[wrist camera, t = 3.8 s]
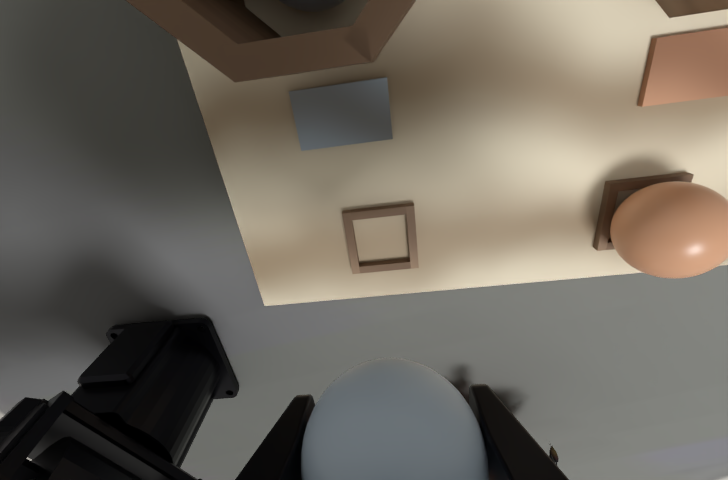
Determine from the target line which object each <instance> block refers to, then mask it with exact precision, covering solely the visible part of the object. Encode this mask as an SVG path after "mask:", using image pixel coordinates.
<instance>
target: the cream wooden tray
mask: <svg viewBox="0 0 728 480" xmlns="http://www.w3.org/2000/svg"><path fill="white" fill-rule="evenodd" d="M126 1H127V2H128V3H130V4H131V5H132V6H134V7H135V8H136V9H138V10H139V11H140V12H142V13H143V14H144V15H146V16H147V17H148V18H150V19H151V20H152V21H154V22H155V23H156V24H158V25H159V26H160V27H162V28H163V29H164V30H166V31H167V32H168V33H170V34H171V35H172V36H174V37H175V38H176V39H177V41H178V44H179V47H180V50H181V53H182V56H183V59H184V62H185V65H186V68H187V71H188V74H189V77H190V80H191V83H192V86H193V89H194V92H195V96H196V99H197V102H198V105H199V108H200V111H201V114H202V117H203V120H204V123H205V126H206V129H207V132H208V135H209V138H210V141H211V144H212V147H213V150H214V153H215V156H216V159H217V162H218V165H219V168H220V172H221V175H222V178H223V181H224V184H225V187H226V190H227V193H228V196H229V199H230V202H231V205H232V208H233V211H234V214H235V217H236V220H237V223H238V226H239V229H240V232H241V235H242V238H243V241H244V244H245V248H246V251H247V254H248V257H249V260H250V263H251V266H252V269H253V272H254V275H255V278H256V281H257V284H258V287H259V290H260V293H261V296H262V299H263V302H264V305H265V306H270V305H282V304H293V303H304V302H315V301H327V300H338V299H349V298H360V297H372V296H383V295H394V294H406V293H417V292H428V291H439V290H451V289H462V288H473V287H484V286H496V285H507V284H518V283H529V282H541V281H552V280H563V279H575V278H586V277H597V276H608V275H620V274H631V273H642V272H641V271H639V270H637V269H635V268H633V267H632V266H630V265H629V264H628V263H626V262H625V261H624V260H623V259H622V258H621V257H620V256H619V254H618V253H617V251H616V250H615V248H614V246H613V243H612V241H611V235H610V226H611V221H612V218H613V215H614V213H615V212H616V210H617V208H618V207H619V206H620V204H621V203H622V202H623V201H624V200H625V199H626V198H628V197H629V196H630V195H632V194H633V193H635V192H636V191H638V190H640V189H642V188H645V187H647V186H650V185H653V184H657V183H663V182H673V181H681V182H691V183H695V184H699V185H703V186H705V187H708V188H710V189H712V190H714V191H716V192H718V193H719V194H721V195H722V196H723V197H724V198H726V199H727V200H728V0H345V1H344V2H342V3H341V4H339V5H337V6H336V7H333V8H331V9H328V10H324V11H319V12H307V11H302V10H297V9H294V8H292V7H289V6H287V5H285V4H284V3H282V2H280V1H279V0H126ZM721 265H728V258H727V259H726V260H725V261H724V262H723V263H721V264H720V265H718V266H721Z"/></svg>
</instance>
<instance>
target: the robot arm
mask: <svg viewBox="0 0 728 480" xmlns="http://www.w3.org/2000/svg"><path fill="white" fill-rule="evenodd" d="M201 326H203V327H204V328H203V327H201ZM106 336H107V338H108V339H109V341H110V343H111V344H110V345H109V346H108V347H107V348H106V349H105V350H104V351H103V352H102V353H101V354H100V355H99V356H98V358H97V359H96V360H95V361H94V362H93V363H92V364H91V365H90V366H89V367H88V368H87V369H86V370H85V371H84V372H83V373H82V374H81V376H80V377H79V379H78V381H77V382H78V384H79V385H80V386H79V387H78V388H77V389H76V391H75V392H74V393H73V394H72V395H70V394H68V393H66V392H65V391H62V392H60V393H59V394H58V395H56V396H55V397H53V398H52V399H50V400H49V401H47V400H45V399H34V398H27V397H25V398H24V399H23V400H21V401H20V402H18V403H17V404H16V405H15V406H14V407H13V408H12V409H11V410H10V411H9V412H8V413H7V414H6V415H5V416H4V417H2V418H1V419H0V480H202V479H196V478H195V477H193V476H191V475H190V474H188V473H187V472H185V471H184V470H182V469H180V467H181V465H182V463H183V461H184V459H185V457H186V455H187V453H188V451H189V448H190V446H191V444H192V442H193V440H194V438H195V436H196V434H197V432H198V430H199V428H200V426H201V424H202V422H203V420H204V418H205V416H206V413H207V411H208V409H209V407H210V405H211V403H212V401H213V399H221V398H233V397H236V395H237V393H238V391H239V386H238V384H237V381H236V379H235V377H234V374H233V372H232V370H231V367H230V365H229V363H228V360H227V358H226V356H225V353H224V351H223V349H222V346H221V344H220V342H219V339H218V337H217V335H216V332H215V330H214V328H213V325H212V323H211V322H210V321H209V320H208V319H205V318H195V319H183V320H172V321H158V322H147V323H135V324H126V325H115V326H112V327H111V328H110V329H109V330H108V331H107V332H106ZM469 406H470V408H471V409H472V411H473V413H474V415H475V417H476V419H477V421H478V423H479V426H480V429H481V432H482V435H483V438H484V442H485V446H486V451H487V457H488V471H489V480H569V479H568V478H567V477H566V476H565V475H564V473H563V472H562V471H561V470H560V469H559V468H558V467H557V465H556V464H555V463H554V462H553V461H552V460H551V458H550V457H549V456H548V455H547V454H546V453H545V451H544V450H543V449H542V448H541V447H540V446H539V444H538V443H537V442H536V441H535V440H534V439H533V437H532V436H531V435H530V434H529V433H528V432H527V430H526V429H525V428H524V427H523V426H522V425H521V424H520V422H519V421H518V420H517V419H516V418H515V417H514V415H513V414H512V413H511V412H510V411H509V410H508V408H507V407H506V406H505V405H504V404H503V403H502V401H501V400H500V399H499V398H498V397H497V396H496V394H495V393H494V392H493V391H492V390H491V389H490V388H489V386H487V385H486V384H475V385H471V386H470V388H469ZM314 407H315V403H314V400H313V397H312V396H311V395H297V396H296V397H295V398H294V399H293V400H292V402H291V403H290V404H289V406H288V407H287V409H286V410H285V411H284V413H283V414H282V415H281V417H280V418H279V420H278V421H277V422H276V424H275V425H274V427H273V428H272V429H271V431H270V432H269V434H268V435H267V436H266V438H265V439H264V440H263V442H262V443H261V445H260V446H259V447H258V449H257V450H256V452H255V453H254V454H253V456H252V457H251V459H250V460H249V461H248V463H247V464H246V465H245V467H244V468H243V470H242V471H241V472H240V474H239V475H238V477H237V478H236V479H235V480H302V477H301V451H302V444H303V438H304V433H305V430H306V426H307V423H308V421H309V418H310V416H311V413H312V411H313V409H314ZM27 457H29V458H30V459H32V461H29V460H27V459H26V458H27Z"/></svg>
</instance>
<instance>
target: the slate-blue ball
mask: <svg viewBox="0 0 728 480" xmlns="http://www.w3.org/2000/svg"><path fill="white" fill-rule="evenodd" d="M301 477H302V480H489V471H488V457H487V451H486V446H485V442H484V438H483V435H482V432H481V429H480V426H479V423H478V421H477V419H476V417H475V415H474V413H473V411H472V409H471V408H470V406H469V404H468V403H467V402H466V400H465V399H464V397H463V396H462V395H461V393H460V392H459V391H458V390H457V389H456V388H455V387H454V386H453V385H452V384H451V383H450V382H449V381H448V380H447V379H446V378H444V377H443V376H441V375H440V374H439V373H437V372H436V371H434V370H433V369H431V368H429V367H427V366H425V365H422V364H420V363H417V362H414V361H411V360H407V359H401V358H380V359H374V360H370V361H367V362H364V363H361V364H359V365H357V366H355V367H352V368H351V369H349V370H347V371H346V372H344V373H343V374H342V375H341V376H339V377H338V378H337V379H336V380H334V381H333V382H332V384H331V385H330V386H329V387H328V388H327V389H326V390H325V391H324V393H323V394H322V396H321V397H320V399H319V400H318V402H317V404H316V405H315V407H314V409H313V411H312V413H311V416H310V418H309V421H308V423H307V426H306V430H305V433H304V438H303V444H302V451H301Z"/></svg>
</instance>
